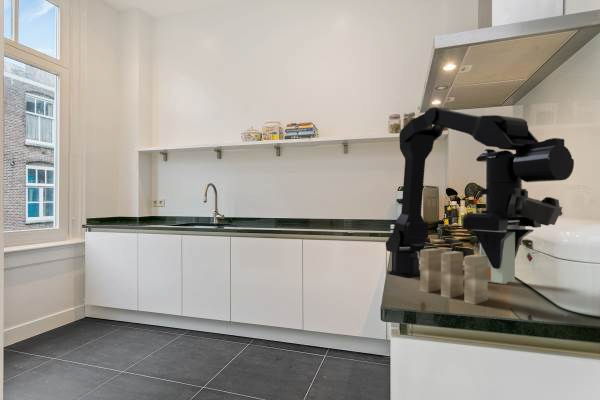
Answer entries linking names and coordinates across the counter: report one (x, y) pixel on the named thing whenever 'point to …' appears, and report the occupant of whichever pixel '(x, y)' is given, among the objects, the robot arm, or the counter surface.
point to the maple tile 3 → (475, 278)
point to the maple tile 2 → (451, 274)
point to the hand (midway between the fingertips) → (502, 266)
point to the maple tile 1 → (430, 270)
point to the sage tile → (506, 262)
